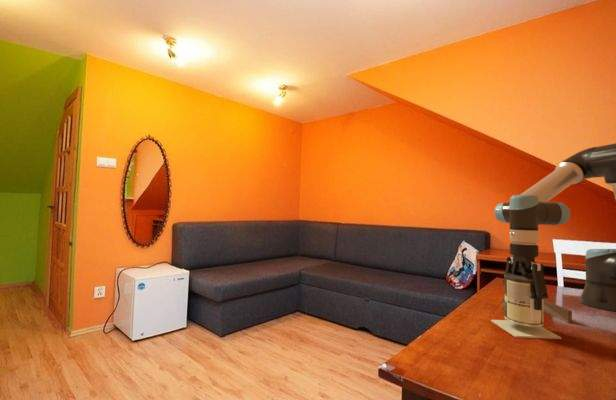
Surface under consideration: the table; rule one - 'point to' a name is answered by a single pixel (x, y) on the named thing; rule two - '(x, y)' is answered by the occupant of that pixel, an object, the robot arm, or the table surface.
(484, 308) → the table surface
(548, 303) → the wooden bars
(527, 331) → the mat
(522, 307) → the coffee can
